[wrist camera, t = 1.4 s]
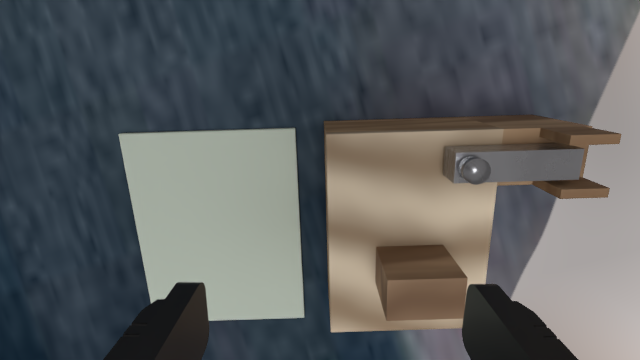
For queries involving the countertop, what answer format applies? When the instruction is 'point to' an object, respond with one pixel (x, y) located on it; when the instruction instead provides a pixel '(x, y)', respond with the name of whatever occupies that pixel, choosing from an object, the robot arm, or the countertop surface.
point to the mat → (220, 217)
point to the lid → (404, 229)
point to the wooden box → (515, 132)
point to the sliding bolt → (512, 163)
